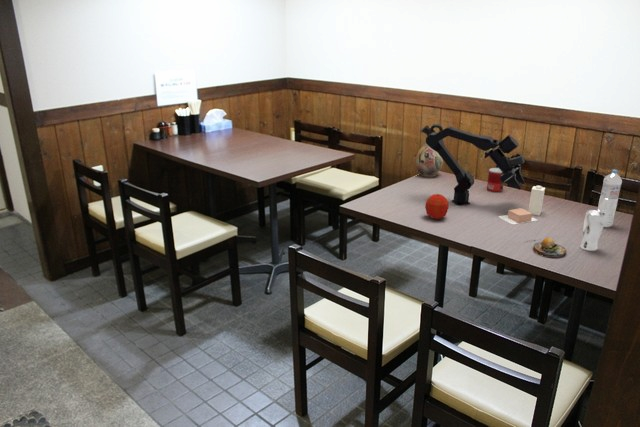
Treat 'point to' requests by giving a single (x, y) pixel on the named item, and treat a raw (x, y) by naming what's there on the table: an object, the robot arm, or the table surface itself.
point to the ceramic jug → (428, 156)
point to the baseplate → (513, 220)
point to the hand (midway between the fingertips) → (522, 186)
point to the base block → (519, 215)
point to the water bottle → (610, 197)
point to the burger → (549, 249)
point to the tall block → (536, 200)
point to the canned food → (494, 180)
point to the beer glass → (592, 229)
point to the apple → (437, 206)
